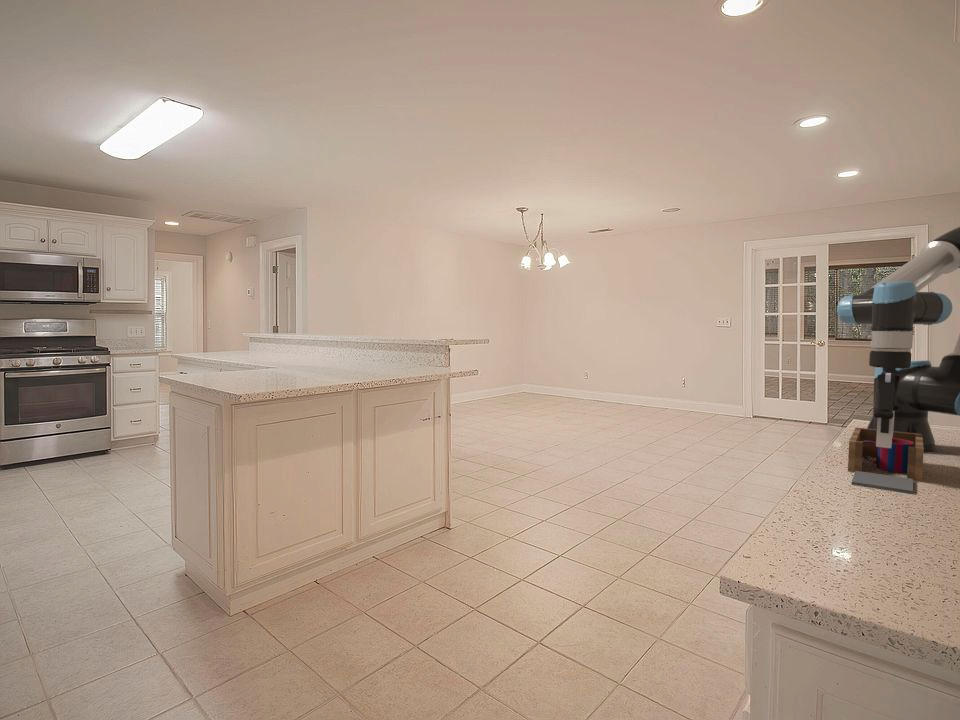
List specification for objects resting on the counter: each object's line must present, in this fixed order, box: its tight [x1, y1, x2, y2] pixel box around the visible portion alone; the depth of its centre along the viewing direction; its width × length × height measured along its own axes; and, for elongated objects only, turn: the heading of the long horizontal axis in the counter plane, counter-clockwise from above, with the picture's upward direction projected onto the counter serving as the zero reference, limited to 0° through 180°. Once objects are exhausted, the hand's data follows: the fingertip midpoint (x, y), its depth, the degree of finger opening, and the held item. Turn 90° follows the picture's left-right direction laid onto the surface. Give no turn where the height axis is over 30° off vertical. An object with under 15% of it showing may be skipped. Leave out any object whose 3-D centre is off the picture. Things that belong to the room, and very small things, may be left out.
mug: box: [862, 438, 914, 475], centre depth 121 cm, size 7×10×7 cm
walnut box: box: [847, 427, 925, 482], centre depth 123 cm, size 19×13×7 cm
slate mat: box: [851, 471, 914, 495], centre depth 111 cm, size 10×10×1 cm
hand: (884, 442), depth 121 cm, fingers open, 13 cm apart
